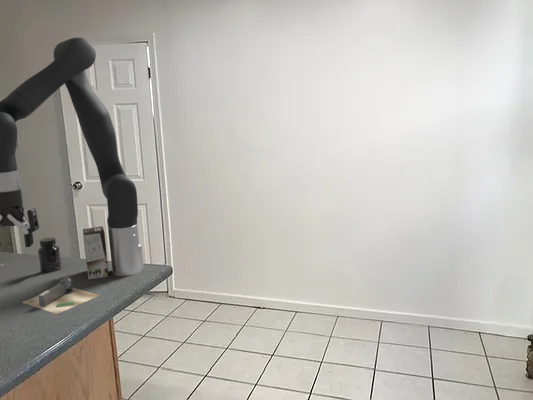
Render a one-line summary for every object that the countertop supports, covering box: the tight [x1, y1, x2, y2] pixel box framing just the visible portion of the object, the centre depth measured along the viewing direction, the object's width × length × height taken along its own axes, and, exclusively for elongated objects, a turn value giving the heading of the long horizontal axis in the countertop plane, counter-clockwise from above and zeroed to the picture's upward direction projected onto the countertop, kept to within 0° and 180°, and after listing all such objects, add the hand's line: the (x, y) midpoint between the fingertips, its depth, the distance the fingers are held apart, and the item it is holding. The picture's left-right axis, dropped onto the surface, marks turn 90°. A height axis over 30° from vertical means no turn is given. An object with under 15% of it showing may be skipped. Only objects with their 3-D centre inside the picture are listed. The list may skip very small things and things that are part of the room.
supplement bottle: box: [37, 237, 63, 273], centre depth 160 cm, size 7×7×12 cm
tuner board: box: [22, 286, 101, 315], centre depth 135 cm, size 14×16×2 cm
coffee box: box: [82, 226, 110, 280], centre depth 154 cm, size 9×6×16 cm
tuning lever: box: [37, 276, 73, 306], centre depth 135 cm, size 12×3×4 cm, turn 167°
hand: (13, 247), depth 129 cm, fingers open, 8 cm apart
